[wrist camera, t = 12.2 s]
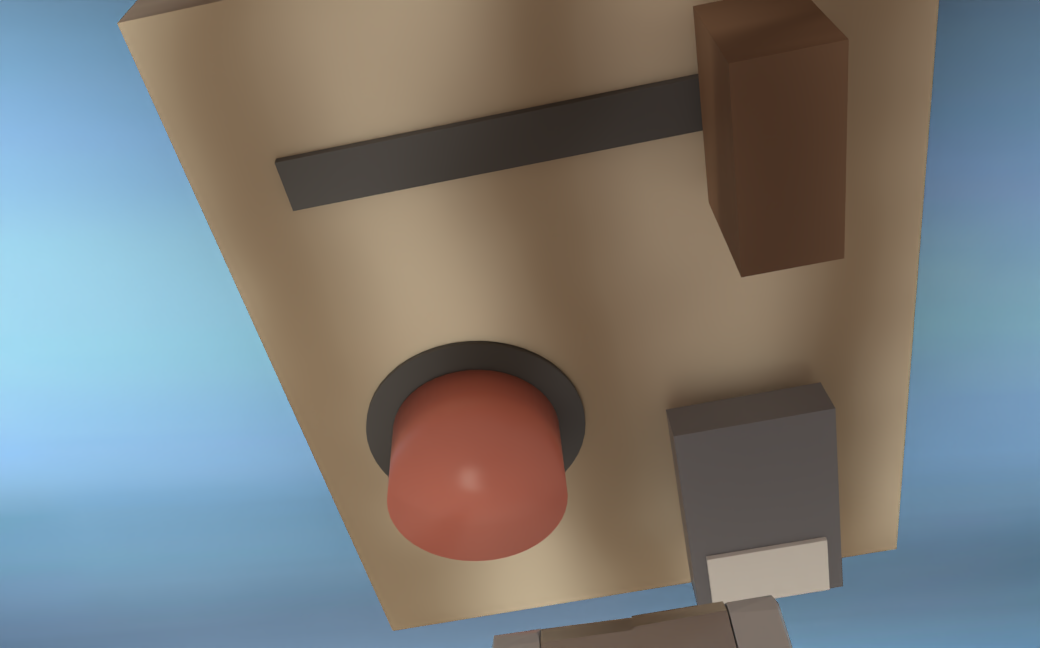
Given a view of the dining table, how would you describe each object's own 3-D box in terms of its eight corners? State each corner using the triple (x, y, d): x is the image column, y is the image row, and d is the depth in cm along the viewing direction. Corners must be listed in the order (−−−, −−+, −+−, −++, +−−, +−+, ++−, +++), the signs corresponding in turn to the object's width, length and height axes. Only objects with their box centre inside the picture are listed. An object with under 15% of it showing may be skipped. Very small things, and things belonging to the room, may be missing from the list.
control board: (890, -183, 19) (965, -150, 17) (862, 478, 31) (903, 564, 28) (157, -23, 21) (107, 33, 18) (397, 556, 32) (391, 646, 30)
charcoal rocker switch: (820, 382, 24) (837, 411, 23) (829, 556, 27) (844, 589, 26) (665, 409, 24) (674, 439, 23) (690, 578, 27) (699, 613, 26)
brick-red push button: (544, 355, 23) (551, 421, 21) (571, 477, 26) (580, 545, 24) (372, 387, 24) (364, 454, 22) (416, 504, 26) (413, 573, 24)
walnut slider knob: (796, -16, 18) (848, 38, 16) (799, 184, 21) (844, 258, 18) (692, 6, 18) (729, 63, 16) (708, 202, 21) (741, 277, 18)
